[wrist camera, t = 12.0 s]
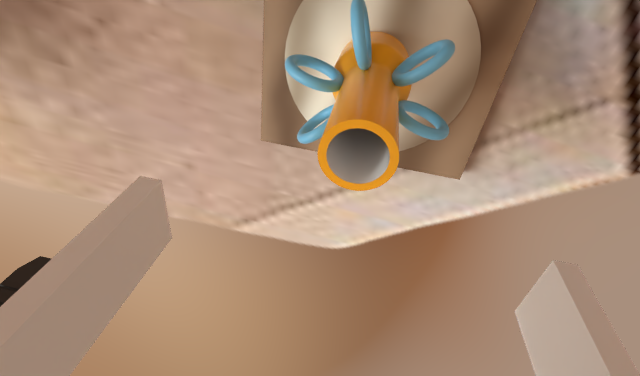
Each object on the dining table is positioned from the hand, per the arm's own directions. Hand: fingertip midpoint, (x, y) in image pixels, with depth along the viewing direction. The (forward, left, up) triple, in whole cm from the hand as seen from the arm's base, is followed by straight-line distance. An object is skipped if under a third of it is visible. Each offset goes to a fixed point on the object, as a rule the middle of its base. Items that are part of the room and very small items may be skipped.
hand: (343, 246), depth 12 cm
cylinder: (0, 0, -22) cm, 22 cm away
